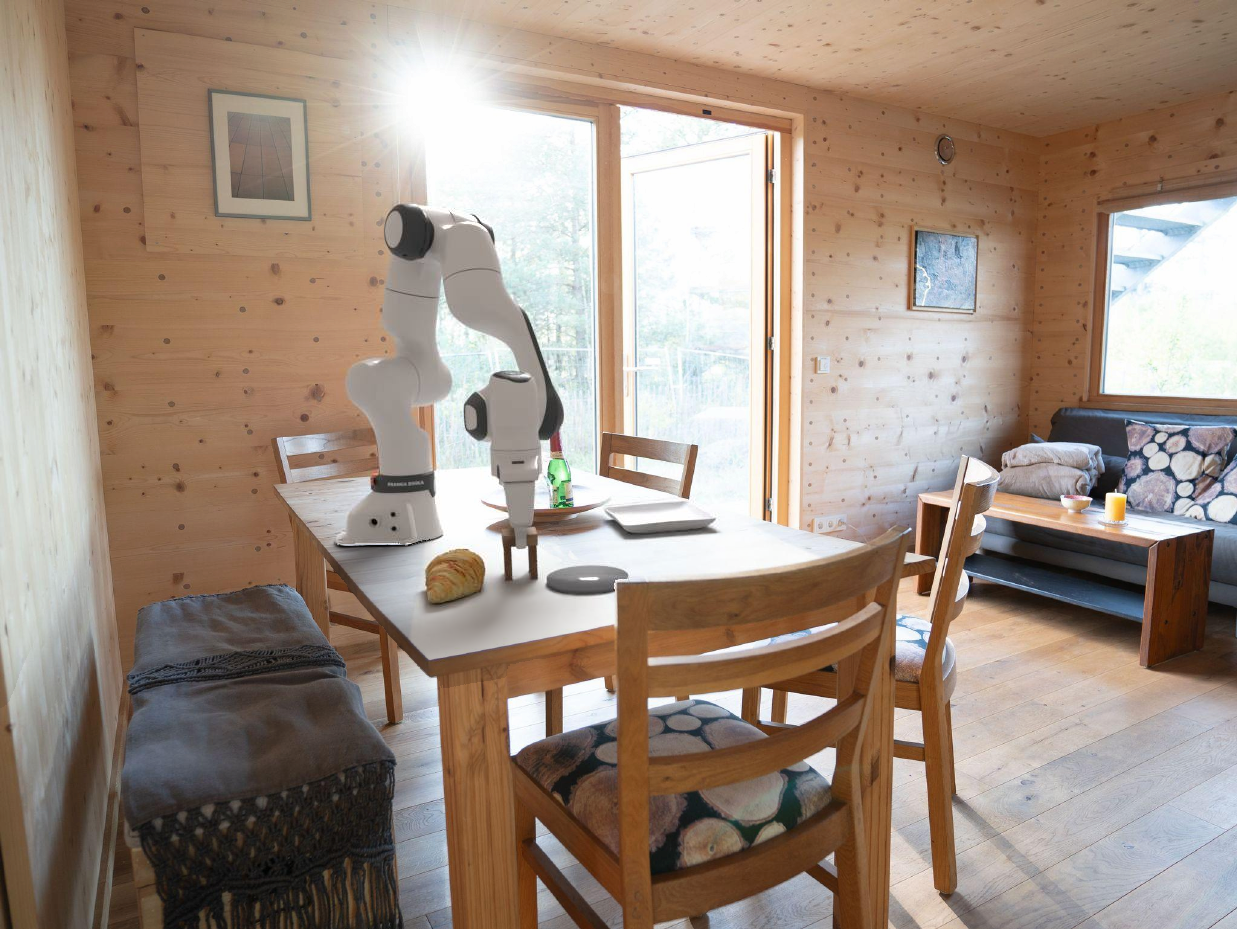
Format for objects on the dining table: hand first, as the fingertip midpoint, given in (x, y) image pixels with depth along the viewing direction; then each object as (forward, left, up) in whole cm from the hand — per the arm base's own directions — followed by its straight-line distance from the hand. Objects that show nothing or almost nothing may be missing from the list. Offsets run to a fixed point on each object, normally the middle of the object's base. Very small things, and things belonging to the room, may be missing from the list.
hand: (519, 541), depth 143 cm
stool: (0, 0, -6) cm, 6 cm away
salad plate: (+33, +35, -7) cm, 49 cm away
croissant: (-11, -5, -6) cm, 14 cm away
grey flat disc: (+11, -7, -6) cm, 14 cm away
